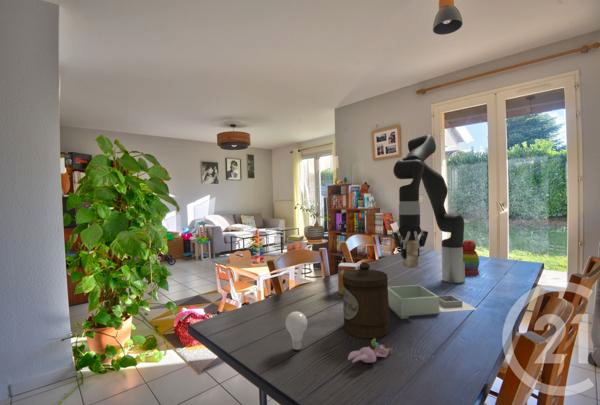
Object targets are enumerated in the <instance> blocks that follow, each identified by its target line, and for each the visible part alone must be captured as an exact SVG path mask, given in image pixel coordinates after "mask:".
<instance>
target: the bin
mask: <svg viewBox="0 0 600 405" xmlns="http://www.w3.org/2000/svg"><path fill="white" fill-rule="evenodd" d="M438 296H439V295H437V294H435V293H434V292H432V291H431V290H428V289H427V288H426V287H423V286H422V285H421V284H413V285H397V286H394V285H392V286H388V301H389V309H391V310H392V312H394V313H395V315H396V316H398V317H399V318H400V320H404V319H411V317H412V316H423V315H425V316H426V315H437V314H440V311H439V297H438Z"/></svg>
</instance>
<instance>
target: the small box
mask: <svg viewBox="0 0 600 405" xmlns="http://www.w3.org/2000/svg"><path fill="white" fill-rule="evenodd" d="M337 267H338V268H337V277H338V278H337V280H338V282H337V285H338V286H337V288H338V295H343V273H344V272H346V271H349V270H356V269H359V268H358V262H357V263H354V262H340V263H339V264H338V266H337Z"/></svg>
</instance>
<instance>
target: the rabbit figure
mask: <svg viewBox="0 0 600 405" xmlns="http://www.w3.org/2000/svg"><path fill="white" fill-rule="evenodd" d="M376 340H377V338H372V340H371V341H370V343H371V346H373V347H374V349H372V348H371V347H370V346H364V347H361V348H360V349H359V350H353V351H351V352H350V353H348V356H347V360H348V361H350V360H352V361H351V363H355V362H358V361H361V362H364V363H366V364H367V363H371V364H372V363H375V362H377V358H378V357H381V358H387V357H388V355H389V354H393V349H392V348H391V347H388V348H386V347H385V344H379V342H376Z"/></svg>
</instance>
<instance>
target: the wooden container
mask: <svg viewBox="0 0 600 405" xmlns="http://www.w3.org/2000/svg"><path fill="white" fill-rule="evenodd" d="M370 267H371V265H370V264H369V263H368V262H365V261H363V262H361V263H360V264H359V268H358V269H356V270H349V271H346V272H344V273H343V294H342V295H343V297H342V298H343V300H342V302H343V306H342V307H343V328H344V330H345V331H346V332H347V333H349V334H350V335H352V336H354V337H357V338H362V339H378V338H382V337H384V336H387V335H388V334H389V332H390V307H389V301H388V287H389V286H388V284H389V283H388V274H387V273H385V272H384V271H381V270H376V269H370Z"/></svg>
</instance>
